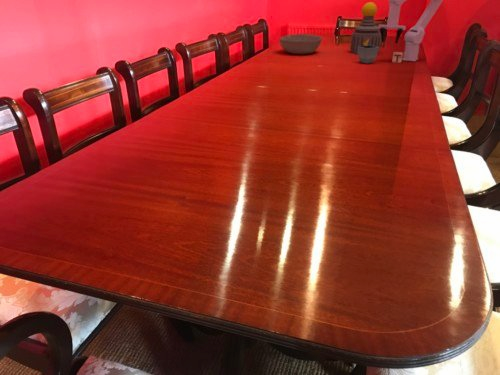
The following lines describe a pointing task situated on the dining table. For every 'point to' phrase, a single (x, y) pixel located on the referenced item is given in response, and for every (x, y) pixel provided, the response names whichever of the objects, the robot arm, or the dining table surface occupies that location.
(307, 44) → the bowl
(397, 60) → the letter cube
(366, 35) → the decorative lamp
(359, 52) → the flower pot
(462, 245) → the dining table surface
